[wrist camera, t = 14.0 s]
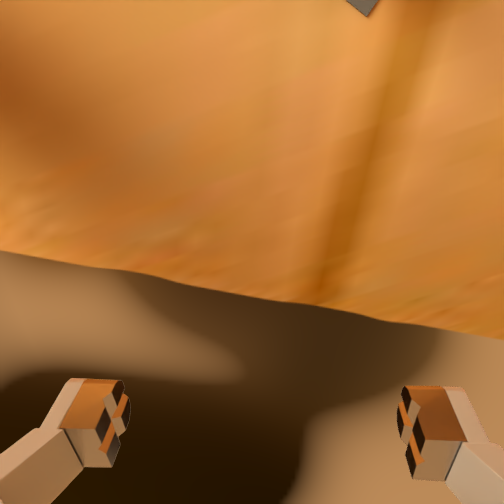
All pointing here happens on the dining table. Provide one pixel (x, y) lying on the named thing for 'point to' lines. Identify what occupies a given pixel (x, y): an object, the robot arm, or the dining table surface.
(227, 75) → the dining table surface
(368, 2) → the mat
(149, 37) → the dining table surface
